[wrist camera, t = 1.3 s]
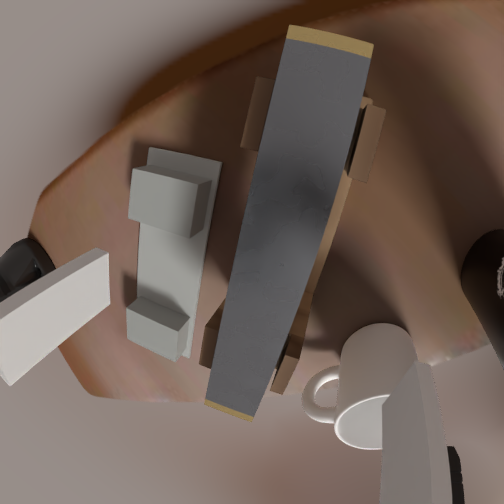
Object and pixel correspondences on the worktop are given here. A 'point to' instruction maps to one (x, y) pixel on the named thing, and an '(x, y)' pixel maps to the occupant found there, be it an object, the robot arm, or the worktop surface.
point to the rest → (170, 247)
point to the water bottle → (487, 286)
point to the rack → (355, 169)
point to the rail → (286, 209)
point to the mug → (363, 383)
